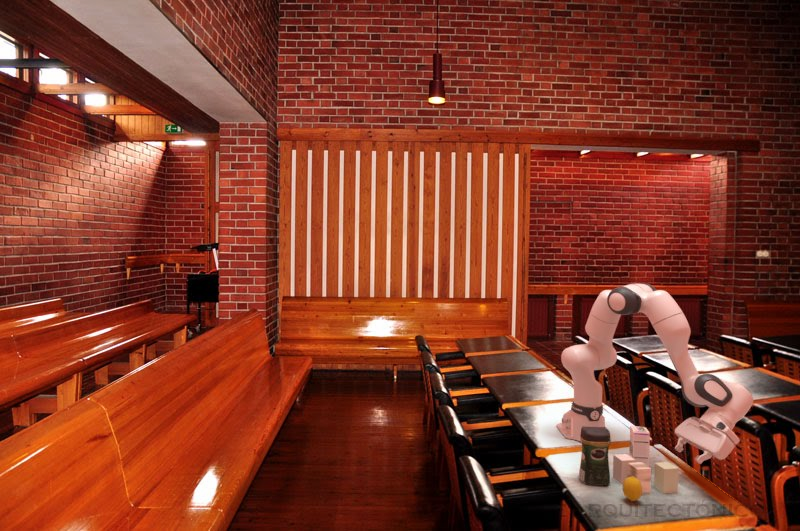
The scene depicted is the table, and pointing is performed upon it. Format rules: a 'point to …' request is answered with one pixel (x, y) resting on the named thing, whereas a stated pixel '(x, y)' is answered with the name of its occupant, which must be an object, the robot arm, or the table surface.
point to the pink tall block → (641, 475)
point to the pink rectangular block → (621, 467)
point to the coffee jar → (595, 456)
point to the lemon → (632, 488)
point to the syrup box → (639, 444)
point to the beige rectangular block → (666, 477)
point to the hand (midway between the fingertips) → (686, 455)
